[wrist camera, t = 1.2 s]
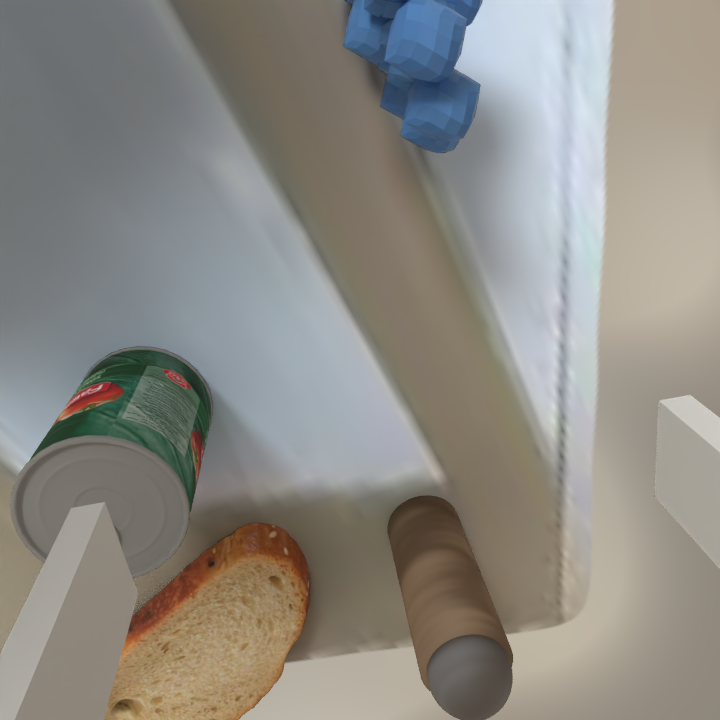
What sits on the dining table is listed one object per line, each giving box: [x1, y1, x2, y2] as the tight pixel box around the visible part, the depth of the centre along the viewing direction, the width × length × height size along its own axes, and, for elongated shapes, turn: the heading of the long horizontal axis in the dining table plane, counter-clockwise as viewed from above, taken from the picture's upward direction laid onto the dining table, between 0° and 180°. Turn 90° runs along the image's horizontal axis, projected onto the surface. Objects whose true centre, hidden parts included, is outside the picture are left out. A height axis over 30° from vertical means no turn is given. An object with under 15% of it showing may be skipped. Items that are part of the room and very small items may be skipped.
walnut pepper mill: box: [388, 496, 513, 720], centre depth 39 cm, size 5×5×15 cm
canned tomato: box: [10, 347, 213, 578], centre depth 35 cm, size 8×8×11 cm
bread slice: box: [104, 523, 310, 720], centre depth 46 cm, size 18×18×4 cm
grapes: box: [344, 0, 483, 153], centre depth 28 cm, size 12×7×12 cm, turn 25°
